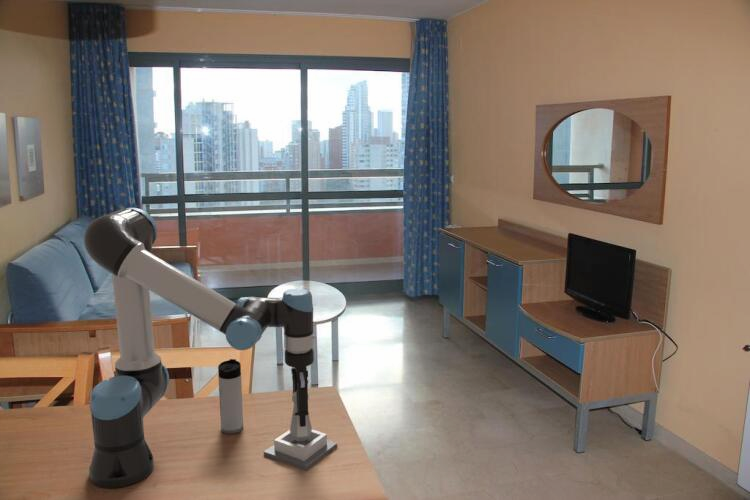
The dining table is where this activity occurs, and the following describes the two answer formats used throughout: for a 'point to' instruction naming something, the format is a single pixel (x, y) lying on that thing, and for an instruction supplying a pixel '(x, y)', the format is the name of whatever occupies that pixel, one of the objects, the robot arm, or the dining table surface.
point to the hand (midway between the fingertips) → (300, 429)
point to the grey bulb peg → (294, 422)
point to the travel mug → (230, 396)
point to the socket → (300, 449)
